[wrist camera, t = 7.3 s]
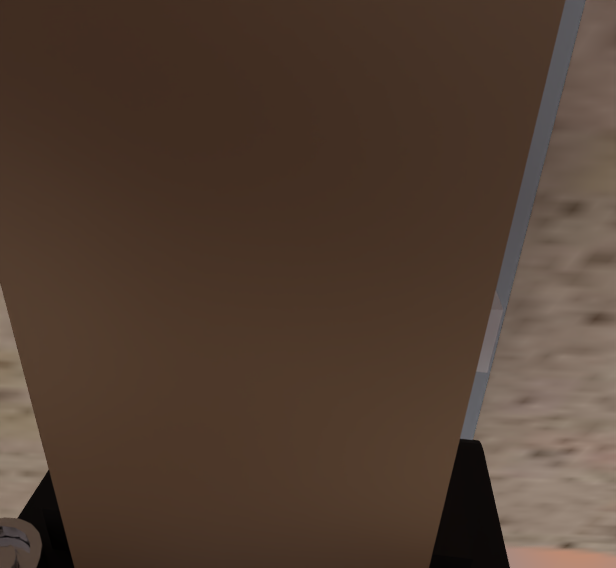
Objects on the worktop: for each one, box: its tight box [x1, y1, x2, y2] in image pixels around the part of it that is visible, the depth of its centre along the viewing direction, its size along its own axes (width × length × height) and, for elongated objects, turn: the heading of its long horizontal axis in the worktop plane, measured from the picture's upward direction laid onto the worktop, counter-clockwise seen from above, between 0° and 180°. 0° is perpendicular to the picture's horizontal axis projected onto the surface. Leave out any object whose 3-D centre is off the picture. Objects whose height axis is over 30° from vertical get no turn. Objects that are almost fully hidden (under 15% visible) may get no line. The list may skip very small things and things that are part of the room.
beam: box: [0, 0, 566, 568], centre depth 9 cm, size 20×4×5 cm, turn 177°
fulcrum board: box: [460, 0, 586, 440], centre depth 16 cm, size 18×12×6 cm, turn 177°
